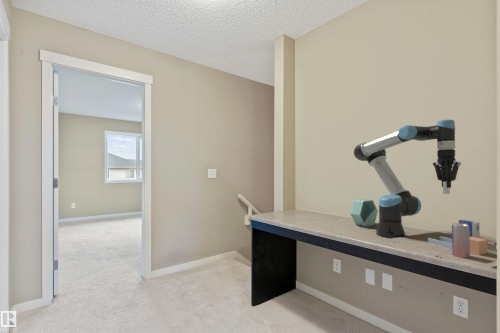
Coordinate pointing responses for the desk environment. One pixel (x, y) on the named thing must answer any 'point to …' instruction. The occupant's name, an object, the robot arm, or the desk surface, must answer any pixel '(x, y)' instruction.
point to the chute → (442, 242)
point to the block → (478, 246)
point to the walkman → (472, 228)
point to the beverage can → (461, 240)
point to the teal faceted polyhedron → (364, 212)
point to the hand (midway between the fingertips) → (446, 193)
